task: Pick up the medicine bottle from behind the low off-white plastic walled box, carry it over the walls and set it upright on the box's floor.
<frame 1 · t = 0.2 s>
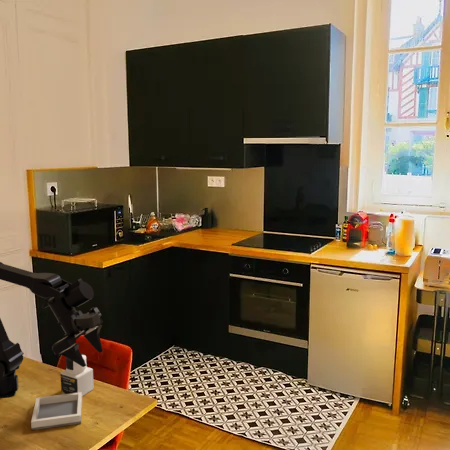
hand: (93, 359, 142), 15 cm above the table, tool tilted 30°, fingers open, 9 cm apart
walled box: (58, 414, 140), on the table
medicine bottle: (77, 392, 153), on the table
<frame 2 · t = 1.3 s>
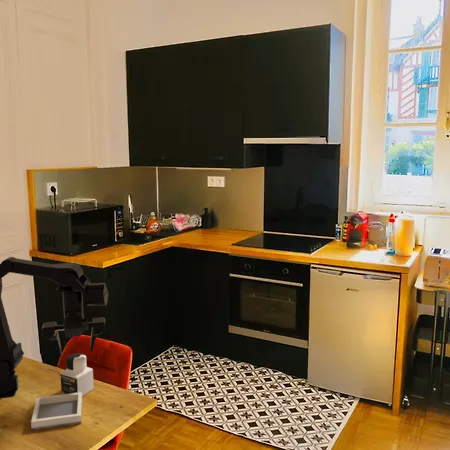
hand: (76, 352, 150), 13 cm above the table, tool pointing down, fingers open, 9 cm apart
nothing on the table moved.
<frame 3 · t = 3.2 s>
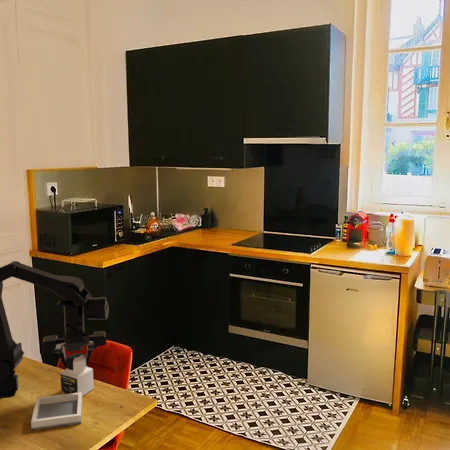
hand: (76, 366, 151), 9 cm above the table, tool pointing down, fingers closed on medicine bottle, 6 cm apart
medicine bottle: (77, 391, 153), on the table, touching gripper
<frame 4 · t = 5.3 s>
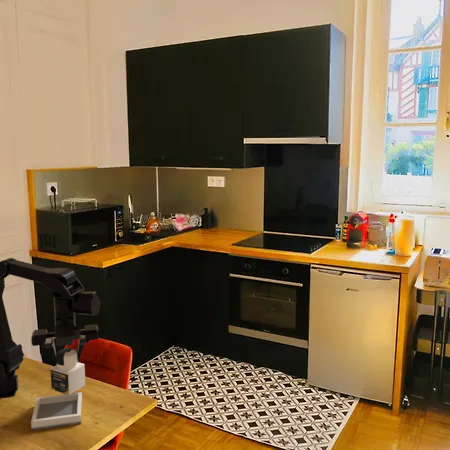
hand: (67, 361, 145), 13 cm above the table, tool pointing down, fingers closed on medicine bottle, 6 cm apart
medicine bottle: (68, 388, 146), point 4 cm above the table, touching gripper
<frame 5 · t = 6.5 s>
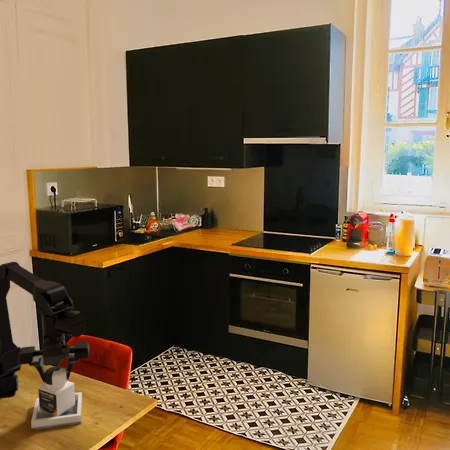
hand: (56, 380, 138), 10 cm above the table, tool pointing down, fingers closed on medicine bottle, 6 cm apart
medicine bottle: (57, 408, 140), point 2 cm above the table, touching gripper
when the fingers open (10 cm above the table, at t = 7.5 s): medicine bottle stays where it is, resting on walled box.
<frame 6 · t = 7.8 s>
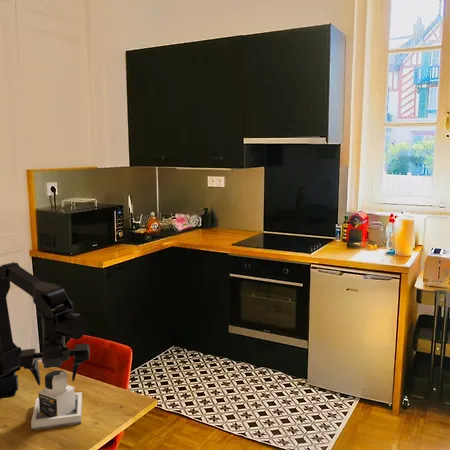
hand: (56, 382, 138), 10 cm above the table, tool pointing down, fingers open, 9 cm apart
medicine bottle: (58, 412, 140), resting on walled box
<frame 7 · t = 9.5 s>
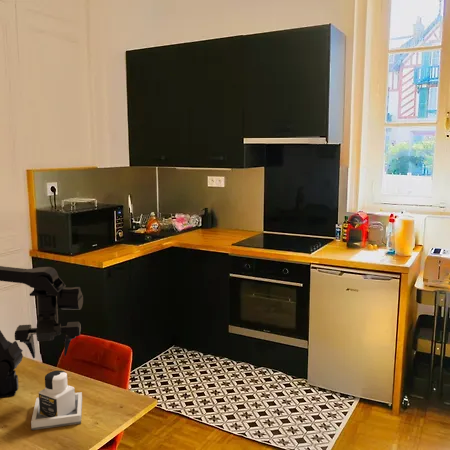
hand: (49, 356, 150), 12 cm above the table, tool pointing down, fingers open, 9 cm apart
nothing on the table moved.
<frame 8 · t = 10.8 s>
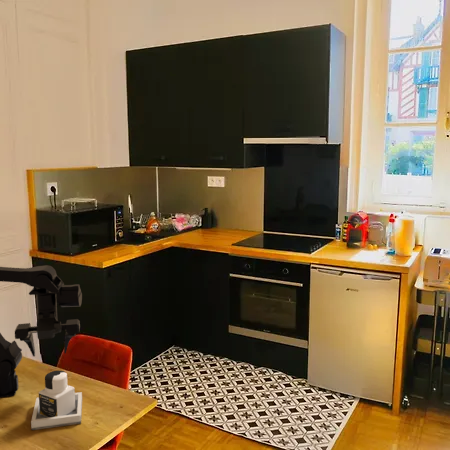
hand: (49, 354, 151), 12 cm above the table, tool pointing down, fingers open, 9 cm apart
nothing on the table moved.
at the end: medicine bottle 0.1 cm off-centre on the walled box, point 0.4 cm above the walled box's base; medicine bottle tilted 0°; the gripper is holding nothing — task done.
